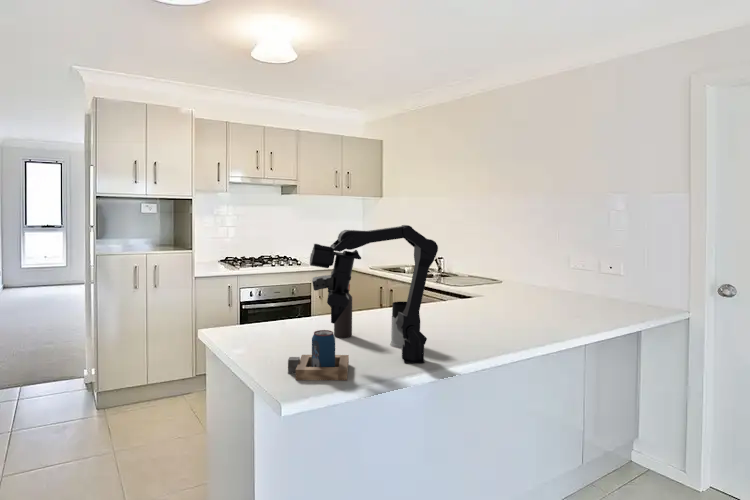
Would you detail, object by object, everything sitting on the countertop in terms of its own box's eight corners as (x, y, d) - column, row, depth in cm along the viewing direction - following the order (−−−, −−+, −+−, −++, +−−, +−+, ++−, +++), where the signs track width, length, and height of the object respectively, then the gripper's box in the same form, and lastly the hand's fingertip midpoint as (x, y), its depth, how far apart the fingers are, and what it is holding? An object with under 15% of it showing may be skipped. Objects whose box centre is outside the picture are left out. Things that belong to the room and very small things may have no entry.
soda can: (336, 368, 154) (337, 329, 153) (332, 376, 147) (333, 335, 146) (314, 367, 155) (314, 329, 154) (309, 375, 148) (309, 334, 147)
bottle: (349, 338, 189) (349, 285, 187) (331, 337, 190) (332, 284, 188) (353, 334, 195) (354, 282, 194) (336, 333, 197) (337, 282, 195)
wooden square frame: (348, 364, 158) (348, 351, 158) (346, 380, 144) (347, 366, 143) (292, 363, 158) (292, 351, 158) (284, 379, 143) (284, 366, 143)
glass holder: (394, 348, 176) (394, 306, 175) (382, 338, 190) (383, 298, 189) (417, 347, 179) (418, 305, 177) (404, 337, 192) (405, 298, 191)
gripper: (317, 259, 164) (308, 305, 167) (315, 272, 146) (305, 323, 148) (351, 265, 165) (342, 311, 168) (353, 279, 147) (342, 330, 150)
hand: (332, 318), depth 158 cm, fingers open, 9 cm apart
